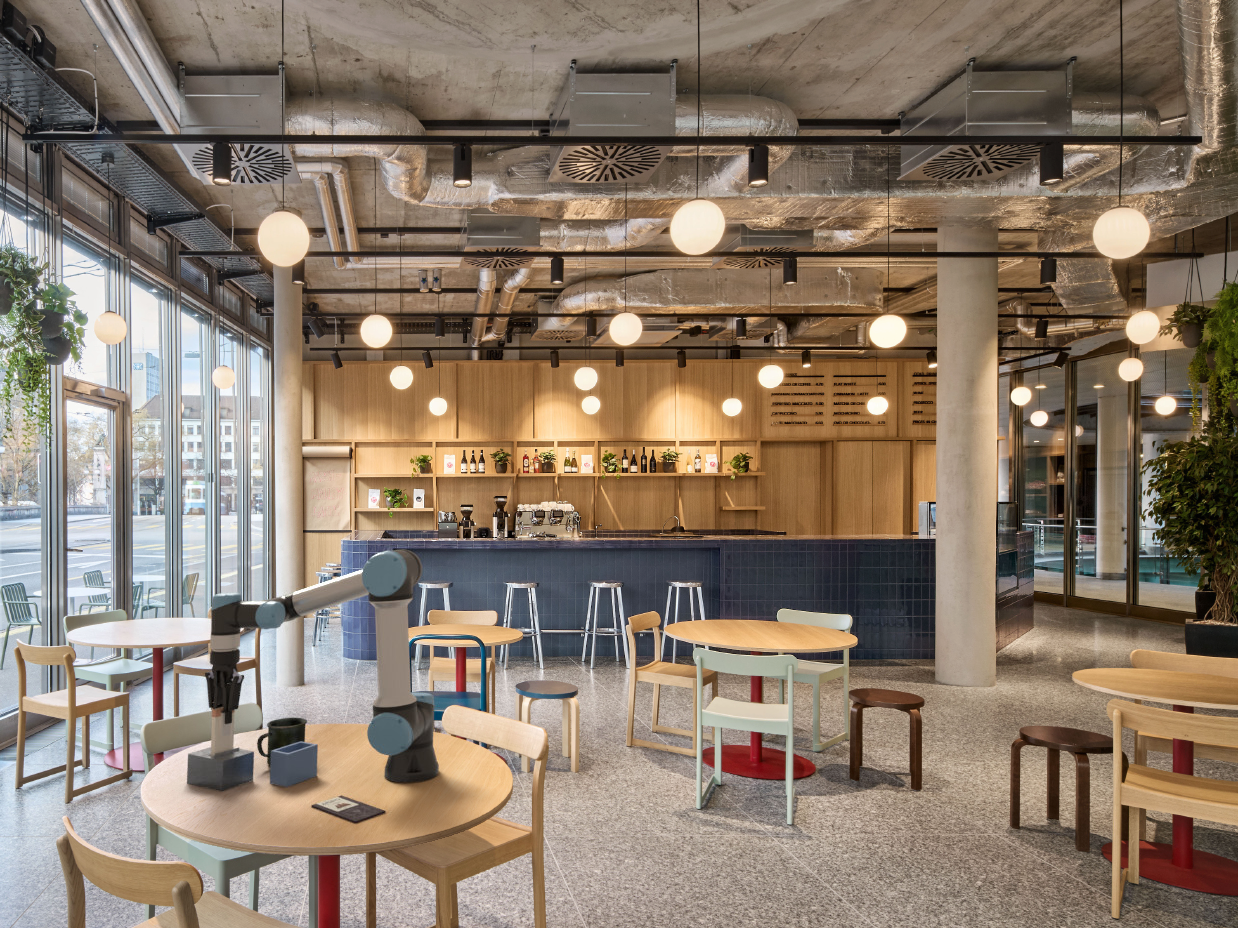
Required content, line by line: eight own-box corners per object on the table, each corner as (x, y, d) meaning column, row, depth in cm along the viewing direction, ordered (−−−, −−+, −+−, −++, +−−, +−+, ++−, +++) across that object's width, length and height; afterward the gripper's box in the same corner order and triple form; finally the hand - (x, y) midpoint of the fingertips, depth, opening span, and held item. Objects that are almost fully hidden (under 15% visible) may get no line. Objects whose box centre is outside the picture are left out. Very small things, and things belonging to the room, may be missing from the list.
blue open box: (316, 775, 235) (317, 744, 235) (286, 786, 225) (288, 754, 226) (299, 772, 238) (300, 741, 238) (269, 783, 228) (270, 750, 228)
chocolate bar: (355, 821, 200) (311, 804, 211) (355, 825, 200) (311, 808, 211) (385, 810, 208) (341, 795, 218) (385, 814, 208) (341, 798, 218)
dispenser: (253, 780, 230) (254, 748, 230) (221, 791, 221) (223, 758, 221) (218, 772, 236) (219, 741, 236) (186, 783, 227) (188, 750, 228)
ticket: (233, 762, 231) (234, 705, 232) (214, 769, 226) (215, 709, 226) (229, 762, 232) (230, 704, 233) (210, 768, 226) (211, 709, 227)
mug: (313, 761, 247) (314, 721, 248) (267, 774, 236) (268, 731, 236) (292, 754, 254) (294, 715, 254) (247, 766, 242) (248, 724, 243)
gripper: (254, 649, 231) (252, 734, 229) (218, 645, 237) (216, 728, 236) (231, 653, 224) (229, 741, 223) (195, 649, 230) (192, 734, 229)
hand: (222, 734), depth 229 cm, fingers closed on ticket, 1 cm apart
